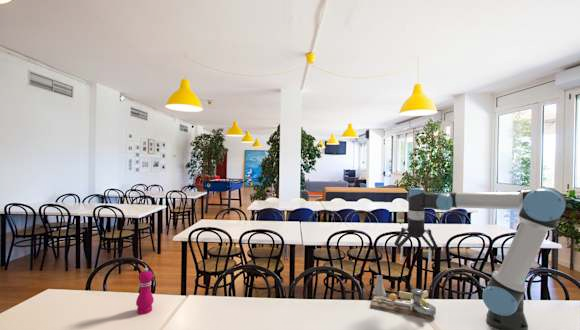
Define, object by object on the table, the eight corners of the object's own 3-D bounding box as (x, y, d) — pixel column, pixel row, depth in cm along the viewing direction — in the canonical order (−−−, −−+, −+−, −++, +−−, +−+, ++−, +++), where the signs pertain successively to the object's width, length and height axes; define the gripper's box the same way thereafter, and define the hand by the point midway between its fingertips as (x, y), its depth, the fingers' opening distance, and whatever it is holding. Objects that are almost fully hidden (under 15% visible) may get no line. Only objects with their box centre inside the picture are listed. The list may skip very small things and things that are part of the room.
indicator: (412, 303, 148) (412, 294, 148) (412, 310, 141) (412, 300, 141) (389, 299, 152) (390, 289, 152) (388, 305, 145) (388, 296, 145)
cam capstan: (397, 304, 147) (397, 287, 147) (412, 297, 155) (412, 281, 155) (429, 318, 134) (429, 300, 134) (443, 310, 142) (443, 293, 142)
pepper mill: (132, 312, 135) (133, 268, 135) (146, 305, 142) (147, 264, 142) (142, 316, 132) (143, 271, 132) (156, 309, 138) (157, 266, 138)
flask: (386, 298, 157) (387, 279, 157) (372, 296, 159) (373, 277, 159) (385, 292, 164) (385, 274, 164) (371, 290, 166) (372, 273, 166)
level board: (430, 308, 147) (430, 303, 147) (431, 319, 136) (431, 314, 136) (374, 297, 157) (374, 292, 157) (370, 307, 146) (371, 302, 146)
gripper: (391, 218, 148) (390, 261, 148) (445, 221, 143) (444, 265, 143) (389, 216, 155) (388, 256, 155) (440, 219, 150) (440, 260, 150)
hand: (415, 261), depth 149 cm, fingers open, 13 cm apart
